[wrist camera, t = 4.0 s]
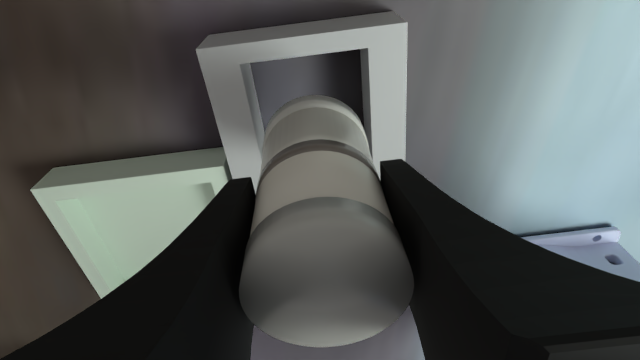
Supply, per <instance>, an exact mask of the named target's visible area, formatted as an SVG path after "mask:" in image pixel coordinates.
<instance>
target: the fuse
mask: <svg viewBox="0 0 640 360" xmlns="http://www.w3.org/2000/svg"><path fill="white" fill-rule="evenodd" d="M413 290H414V277H413V273H412V269H411V266H410V263H409V260H408V257H407V255H406V252H405V249H404V246H403V243H402V240H401V237H400V235H399V233H398V231H397V229H396V227H395V226H394V223H393V220H392V217H391V214H390V211H389V208H388V205H387V202H386V199H385V196H384V193H383V188H382V185H381V182H380V179H379V176H378V173H377V171H376V169H375V166H374V163H373V160H372V157H371V154H370V151H369V145H368V141H367V137H366V134H365V131H364V128H363V125H362V123H361V121H360V119H359V117H358V116H357V114H356V113H355V112H354V111H353V110H352V109H351V108H350V107H349V106H348V105H346V104H345V103H343V102H342V101H339V100H337V99H335V98H332V97H329V96H324V95H307V96H302V97H299V98H296V99H293V100H291V101H289V102H287V103H286V104H284V105H283V106H282V107H280V108H279V109H278V110H277V111H276V112H275V113H274V115H273V116H272V118H271V119H270V121H269V123H268V125H267V128H266V131H265V137H264V142H263V149H262V164H261V170H260V177H259V180H258V185H257V191H256V197H255V208H254V214H253V220H252V226H251V232H250V238H249V240H248V242H247V245H246V249H245V255H244V261H243V267H242V273H241V279H240V285H239V298H240V303H241V306H242V308H243V310H244V312H245V314H246V315H247V317H248V318H249V319H250V321H251V322H252V323H253V324H254V325H255V326H257V327H258V328H259V329H260V330H262V331H263V332H265V333H266V334H268V335H270V336H272V337H274V338H276V339H278V340H281V341H284V342H287V343H291V344H295V345H300V346H308V347H334V346H341V345H347V344H351V343H355V342H358V341H361V340H364V339H367V338H369V337H372V336H374V335H376V334H378V333H379V332H381V331H383V330H384V329H386V328H387V327H389V326H390V325H391V324H393V323H394V322H395V321H396V320H397V319H398V318H399V317H400V316H401V315H402V314H403V312H404V311H405V310H406V308H407V307H408V305H409V303H410V301H411V298H412V295H413Z"/></svg>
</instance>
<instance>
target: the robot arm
mask: <svg viewBox="0 0 640 360" xmlns="http://www.w3.org/2000/svg"><path fill="white" fill-rule="evenodd" d="M380 182H381V185H382V188H383V193H384V196H385V199H386V202H387V205H388V208H389V211H390V214H391V217H392V220H393V223H394V226H395V227H396V229H397V231H398V233H399V235H400V237H401V240H402V243H403V246H404V249H405V252H406V255H407V257H408V260H409V263H410V266H411V269H412V273H413V277H414V290H413V295H412V298H411V301H410V303H409V305H410V308H411V311H412V313H413V316H414V320H415V323H416V326H417V329H418V333H419V337H420V341H421V345H422V348H423V352H424V356H425V360H640V263H639V262H638V261H637V260H635V259H634V258H633V257H632V256H631V255H630V254H629V253H628V252H627V251H626V250H625V249H624V248H623V247H622V246H621V245H620V244H619V243H618V240H619V238H620V236H621V231H620V230H619V229H618V228H616V227H605V228H596V229H588V230H579V231H571V232H562V233H554V234H545V235H537V236H528V237H518V236H516V235H514V234H512V233H510V232H508V231H506V230H504V229H502V228H501V227H499V226H497V225H495V224H493V223H491V222H489V221H488V220H486V219H484V218H482V217H481V216H479V215H477V214H476V213H474V212H472V211H471V210H469V209H468V208H466V207H465V206H463V205H462V204H460V203H458V202H457V201H455V200H454V199H453V198H451V197H450V196H448V195H447V194H445V193H444V192H443V191H441V190H440V189H439V188H437V187H436V186H435V185H433V184H432V183H431V182H429V181H428V180H427V179H426V178H424V177H423V176H422V175H421V174H420V173H418V172H417V171H416V170H415V169H413V168H412V167H411V166H410V165H409V164H407V163H406V162H405V161H404V160H402V159H394V160H386V161H380ZM255 197H256V194H255V190H254V186H253V182H252V178H251V177H245V178H237V179H230V180H229V181H228V182H227V183H226V184H225V185H224V187H223V188H222V189H221V190H220V191H219V192H218V194H217V195H216V196H215V197H214V198H213V199H212V200H211V202H210V203H209V204H208V205H207V206H206V207H205V208H204V209H203V211H202V212H201V213H200V214H199V215H198V216H197V217H196V218H195V219H194V221H193V222H192V223H191V224H190V225H189V226H188V227H187V228H186V229H185V230H184V231H183V232H182V233H181V234H180V235H179V236H178V237H177V238H176V239H175V240H174V241H173V242H172V243H171V244H170V245H169V246H167V247H166V248H165V249H164V250H163V251H162V252H161V253H160V254H159V255H157V256H156V257H155V258H154V259H153V260H152V261H150V262H149V263H148V264H147V265H146V266H144V267H143V268H142V269H141V270H140V271H138V272H137V273H136V274H135V275H133V276H132V277H131V278H129V279H128V280H127V281H125V282H124V283H122V284H121V285H120V286H118V287H117V288H116V289H114V290H113V291H111V292H110V293H109V294H107V295H106V296H104V297H103V298H102V299H100V300H99V301H98V302H96V303H95V304H93V305H92V306H90V307H88V308H87V309H85V310H84V311H82V312H81V313H79V314H78V315H76V316H75V317H73V318H71V319H70V320H68V321H66V322H65V323H63V324H62V325H60V326H58V327H57V328H55V329H53V330H52V331H50V332H48V333H47V334H45V335H43V336H41V337H40V338H38V339H36V340H35V341H33V342H31V343H29V344H27V345H25V346H24V347H22V348H20V349H18V350H16V351H14V352H12V353H11V354H9V355H7V356H5V357H3V358H1V359H0V360H250V356H251V343H252V335H253V327H254V324H253V323H252V322H251V321H250V319H249V318H248V317H247V315H246V314H245V312H244V310H243V308H242V306H241V303H240V298H239V285H240V279H241V273H242V267H243V261H244V255H245V249H246V245H247V242H248V240H249V238H250V232H251V226H252V220H253V214H254V208H255Z"/></svg>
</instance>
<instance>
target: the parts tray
mask: <svg viewBox="0 0 640 360" xmlns="http://www.w3.org/2000/svg"><path fill="white" fill-rule="evenodd" d="M230 179H232V175H231V172H230V168H229V165H228V161H227V158H226V154H225V151H224V147H217V148H209V149H201V150H193V151H185V152H177V153H169V154H160V155H152V156H144V157H136V158H128V159H120V160H112V161H104V162H96V163H88V164H80V165H71V166H63V167H55V168H52V169H51V170H50V171H49V172H48V173H47V174H46V175H45V176H44V177H43V178H42V179H41V180H40V181H39V182H38V183H37V184H36V185H34V186H33V187H32V188H31V189H30V191H31V192H32V194H33V195H34V197H35V198H36V200H37V201H38V203H39V204H40V206H41V207H42V209H43V210H44V212H45V213H46V215H47V217H48V218H49V220H50V221H51V223H52V224H53V226H54V227H55V229H56V230H57V232H58V233H59V235H60V236H61V238H62V240H63V241H64V243H65V244H66V246H67V247H68V249H69V250H70V252H71V253H72V255H73V256H74V258H75V259H76V261H77V263H78V264H79V266H80V267H81V269H82V270H83V272H84V273H85V275H86V276H87V278H88V279H89V281H90V282H91V284H92V285H93V287H94V289H95V290H96V292H97V293H98V295H99V296H100V298H101V299H102V298H103V297H104V296H106V295H107V294H109V293H110V292H111V291H113V290H114V289H116V288H117V287H118V286H120V285H121V284H122V283H124V282H125V281H127V280H128V279H129V278H131V277H132V276H133V275H135V274H136V273H137V272H138V271H140V270H141V269H142V268H143V267H144V266H146V265H147V264H148V263H149V262H150V261H152V260H153V259H154V258H155V257H156V256H157V255H159V254H160V253H161V252H162V251H163V250H164V249H165V248H166V247H167V246H169V245H170V244H171V243H172V242H173V241H174V240H175V239H176V238H177V237H178V236H179V235H180V234H181V233H182V232H183V231H184V230H185V229H186V228H187V227H188V226H189V225H190V224H191V223H192V222H193V221H194V219H195V218H196V217H197V216H198V215H199V214H200V213H201V212H202V211H203V209H204V208H205V207H206V206H207V205H208V204H209V203H210V202H211V200H212V199H213V198H214V197H215V196H216V195H217V194H218V192H219V191H220V190H221V189H222V188H223V187H224V185H225V184H226V183H227V182H228V181H229V180H230Z"/></svg>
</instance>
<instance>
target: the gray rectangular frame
mask: <svg viewBox="0 0 640 360" xmlns="http://www.w3.org/2000/svg"><path fill="white" fill-rule="evenodd" d="M407 25H408V22H407V21H405V20H404V19H403V18H401V17H400V16H399V15H398V14H396V13H395V12H394V11H389V12H381V13H374V14H366V15H358V16H350V17H343V18H335V19H327V20H319V21H312V22H304V23H296V24H288V25H281V26H273V27H265V28H257V29H250V30H242V31H234V32H226V33H219V34H211V35H208V36H207V37H206V38H205V39H204V41H203V42H202V43H201V44H200V45H199V46H198V47H197V48H196V53H197V56H198V60H199V63H200V67H201V70H202V74H203V77H204V81H205V84H206V88H207V91H208V95H209V98H210V102H211V105H212V109H213V112H214V116H215V119H216V123H217V126H218V130H219V133H220V137H221V140H222V144H223V147H224V151H225V154H226V158H227V161H228V165H229V168H230V172H231V175H232V179H237V178H245V177H251V178H252V182H253V186H254V190H255V194H256V191H257V185H258V180H259V177H260V170H261V164H262V149H263V142H264V137H265V132H264V127H263V122H262V118H261V113H260V108H259V103H258V99H257V94H256V89H255V85H254V80H253V75H252V70H251V66H250V63H254V62H262V61H270V60H278V59H285V58H293V57H301V56H309V55H317V54H325V53H332V52H340V51H348V50H356V49H360V58H361V78H362V97H363V117H364V131H365V134H366V137H367V141H368V145H369V151H370V154H371V157H372V160H373V163H374V166H375V169H376V171H377V173H378V176H379V179H380V161H386V160H394V159H402V160H404V161H405V150H406V87H407Z"/></svg>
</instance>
